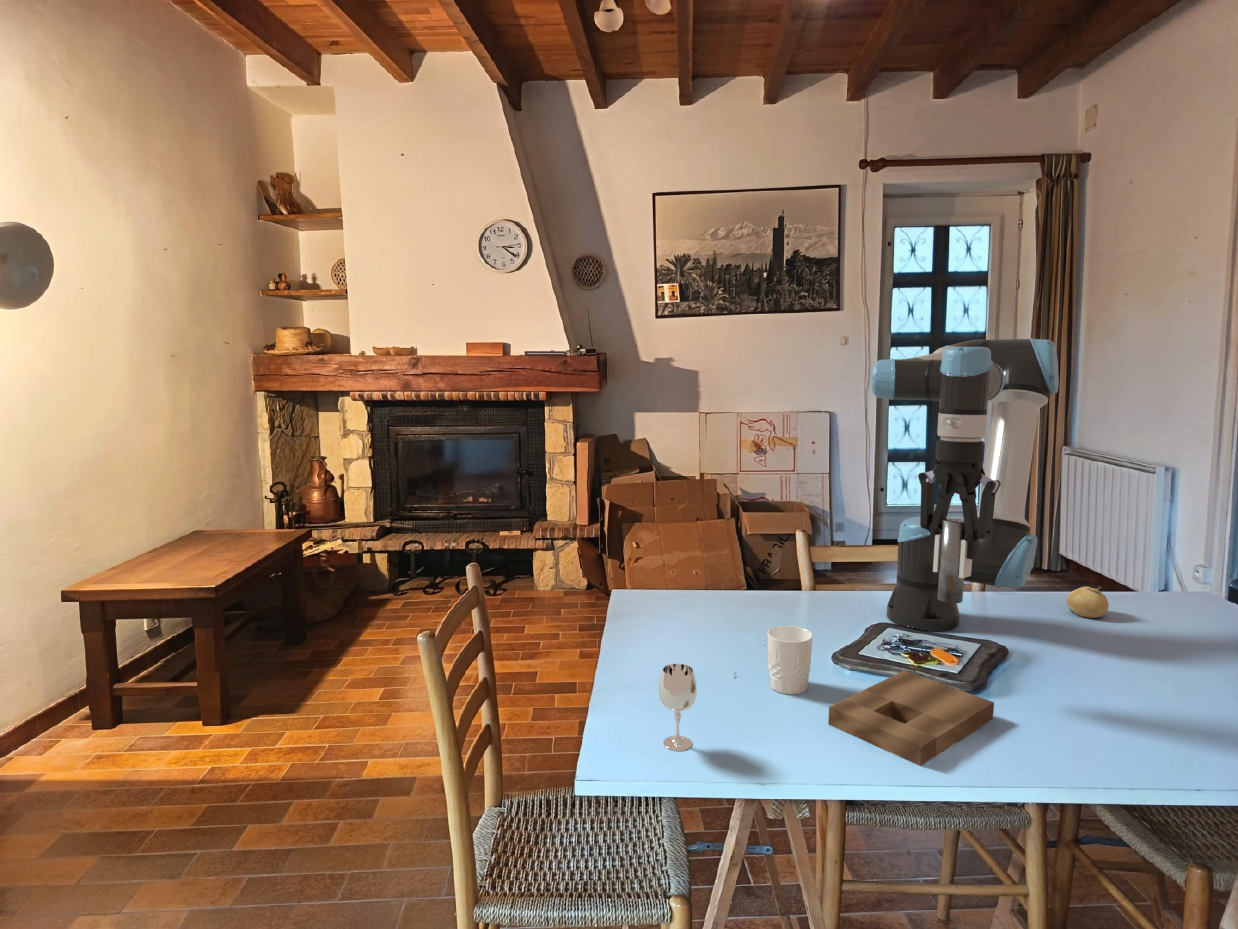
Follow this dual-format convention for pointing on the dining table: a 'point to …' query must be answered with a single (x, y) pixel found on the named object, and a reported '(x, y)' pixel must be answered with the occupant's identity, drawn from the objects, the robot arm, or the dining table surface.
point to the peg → (951, 561)
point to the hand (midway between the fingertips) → (951, 573)
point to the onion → (1088, 602)
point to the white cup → (789, 658)
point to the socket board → (911, 716)
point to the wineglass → (677, 699)
